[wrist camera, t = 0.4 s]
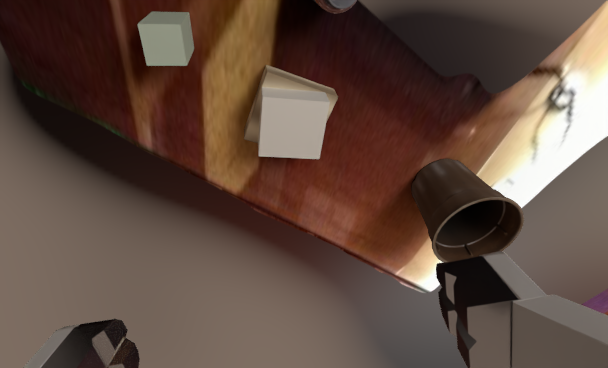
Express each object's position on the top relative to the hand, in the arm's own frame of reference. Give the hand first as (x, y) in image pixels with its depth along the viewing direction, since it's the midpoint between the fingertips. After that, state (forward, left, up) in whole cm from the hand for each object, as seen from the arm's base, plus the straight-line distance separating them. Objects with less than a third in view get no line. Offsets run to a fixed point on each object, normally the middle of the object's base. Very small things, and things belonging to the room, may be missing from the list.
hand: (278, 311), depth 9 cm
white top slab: (+14, +11, -47) cm, 50 cm away
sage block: (+8, -9, -50) cm, 52 cm away
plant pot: (+19, +47, -51) cm, 71 cm away
